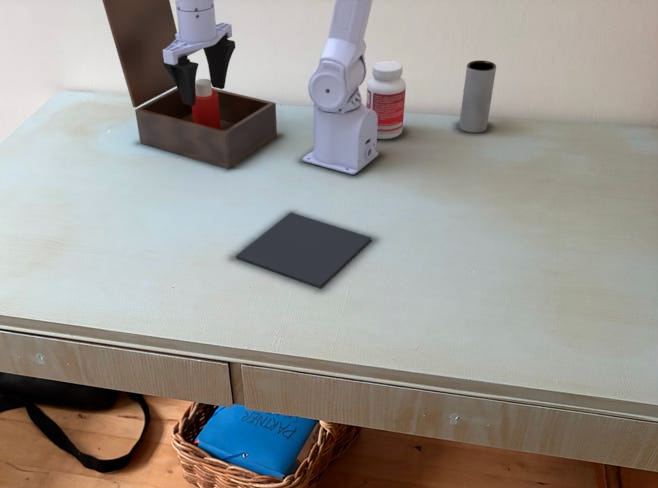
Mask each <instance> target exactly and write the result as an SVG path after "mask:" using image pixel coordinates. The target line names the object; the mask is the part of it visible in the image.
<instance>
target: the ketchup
mask: <svg viewBox="0 0 658 488" xmlns="http://www.w3.org/2000/svg"><path fill="white" fill-rule="evenodd" d="M212 88H213V87H212V84H211V80H210V78H209V79H208V78H199V79H196V80H195V90H196V102H195V105H193V106H192V113H193V122H194V123H196V124H200V125H203V126H207V127H211V128H215V129H218V130H221V126H220V114H219V103H218V93H217V92H216V91H215V90H212Z"/></svg>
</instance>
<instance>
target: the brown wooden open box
mask: <svg viewBox="0 0 658 488" xmlns="http://www.w3.org/2000/svg"><path fill="white" fill-rule="evenodd" d="M212 90H215V91H216V92H217V93H218V103H219V114H220V126H221V130H218V129H215V128H211V127H207V126H203V125H200V124H196V123H194V122H193V113H192V106H191V105H187V104H183V102H182V99H181V96H180V94H179V91H178V89H177V87H175V88H173V89H171V90H169V91H167V92H165V93H163V94H161V95H159V96H158V97H156V98H154V99H152V100H150V101H148V102H146V103H144V104H142V105H140V107H139V106H138V107H137V108H136V109H135V110H134V113H135V118H136V123H137V131H138V137H139V142H140V144H143V145H146V146H149V147H153V148H155V149H159V150H163V151H166V152H168V153H169V152H170V153H173V154H176V155H180V156H183V157H187V158H189V159H193V160H197V161H200V162H204V163H207V164H209V165H213V166H217V167H220V168H224V169H226V170H227V169H230V168H232V167H233V166H235V165H236V164H238V163H240V161H243V160H244V159H245V158H247V157H248V156H250V155H252V153H254V152H256V151H257V150H259V149H261V147H263V146H264V145H266V144H268V143H270V141H273V140H274V139H275V138H277V137H278V130H277V105H276V102H274V101H270V100H267V99H266V100H265V99H261V98H258V97H253V96H249V95H244V94H240V93H235V92H232V91H227V90H224V89H219V88H214V87H212Z"/></svg>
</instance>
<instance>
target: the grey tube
mask: <svg viewBox="0 0 658 488" xmlns="http://www.w3.org/2000/svg"><path fill="white" fill-rule="evenodd" d="M465 69H466V70H465V77H464V85H463V93H462V101H461V109H460V117H459V129H460V130H462V131H463V132H467V133H473V134H476V133H477V134H478V133H482V132H484V131H487V128H488V123H489V118H490V117H489V115H490V110H491V103H492V98H493V97H492V96H493V92H494V91H493V90H494V84H495V79H496V78H495V77H496V71H497V64H495V63H494V62H492V61H489V60H481V59H480V60H479V59H478V60H472V61H470V62H468V63H467V65H466V68H465Z"/></svg>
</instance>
